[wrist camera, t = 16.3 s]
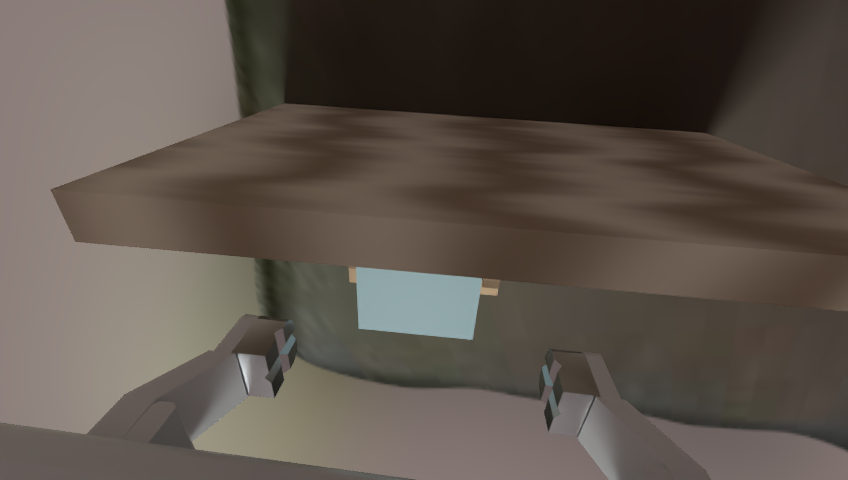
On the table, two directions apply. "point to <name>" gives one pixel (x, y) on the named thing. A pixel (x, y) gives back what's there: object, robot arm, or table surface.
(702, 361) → the table surface
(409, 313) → the cabinet block
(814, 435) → the table surface
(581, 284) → the cleat board
